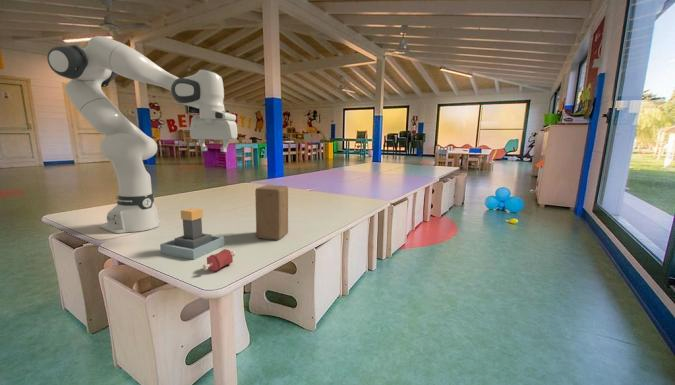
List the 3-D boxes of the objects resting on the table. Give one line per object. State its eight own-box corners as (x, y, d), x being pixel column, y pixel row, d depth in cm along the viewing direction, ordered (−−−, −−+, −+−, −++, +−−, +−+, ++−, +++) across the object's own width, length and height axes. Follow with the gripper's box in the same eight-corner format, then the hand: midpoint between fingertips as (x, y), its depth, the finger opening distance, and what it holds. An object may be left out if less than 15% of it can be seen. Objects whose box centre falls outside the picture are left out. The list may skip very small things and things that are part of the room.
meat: (212, 275, 77) (207, 258, 77) (199, 276, 79) (195, 260, 79) (242, 259, 88) (238, 244, 88) (230, 261, 90) (226, 246, 90)
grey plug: (183, 250, 96) (180, 210, 93) (194, 245, 100) (191, 207, 98) (193, 252, 94) (191, 211, 92) (204, 247, 99) (202, 208, 96)
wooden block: (279, 241, 108) (279, 189, 104) (255, 238, 110) (254, 188, 106) (289, 233, 117) (288, 185, 114) (266, 231, 119) (266, 184, 116)
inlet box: (160, 253, 93) (159, 240, 92) (194, 239, 106) (193, 228, 105) (193, 259, 89) (192, 246, 88) (224, 245, 102) (224, 233, 101)
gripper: (184, 114, 108) (186, 150, 111) (228, 114, 102) (229, 152, 104) (197, 116, 114) (199, 150, 117) (239, 116, 108) (240, 152, 110)
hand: (213, 151), depth 110 cm, fingers open, 8 cm apart
